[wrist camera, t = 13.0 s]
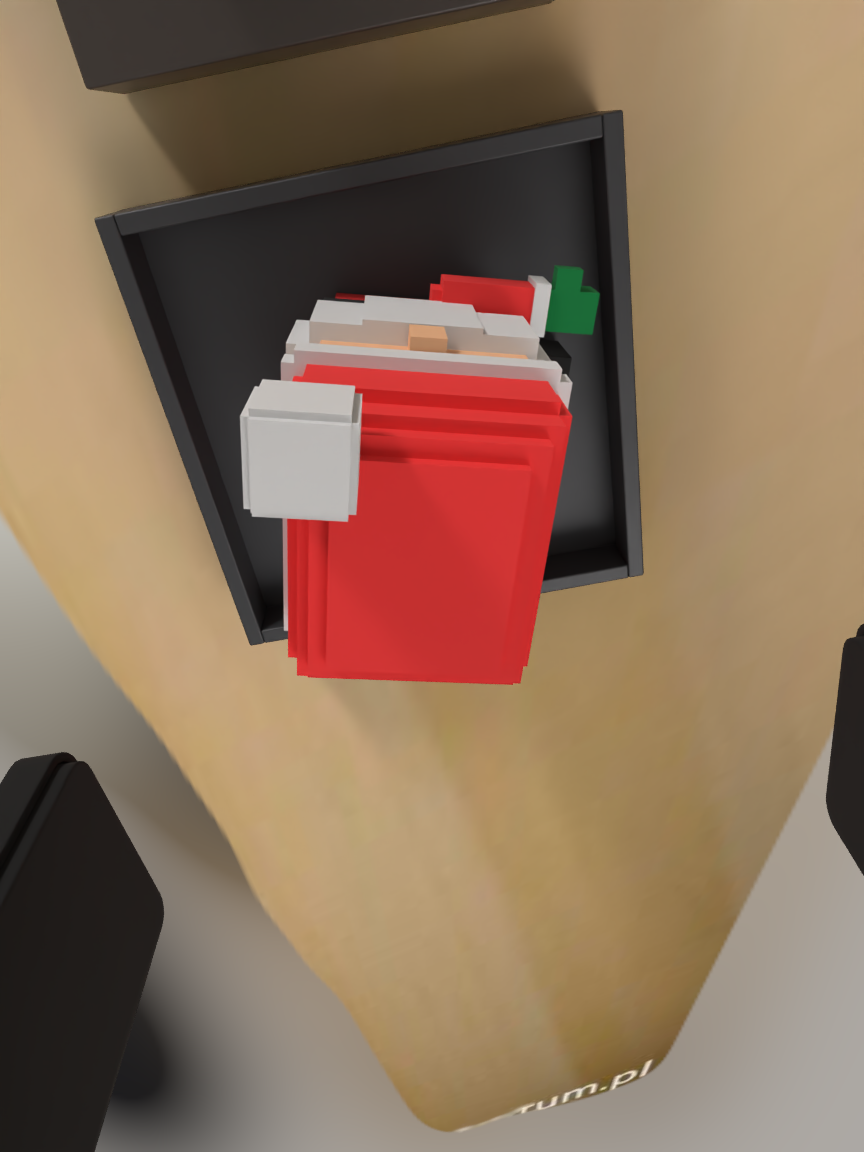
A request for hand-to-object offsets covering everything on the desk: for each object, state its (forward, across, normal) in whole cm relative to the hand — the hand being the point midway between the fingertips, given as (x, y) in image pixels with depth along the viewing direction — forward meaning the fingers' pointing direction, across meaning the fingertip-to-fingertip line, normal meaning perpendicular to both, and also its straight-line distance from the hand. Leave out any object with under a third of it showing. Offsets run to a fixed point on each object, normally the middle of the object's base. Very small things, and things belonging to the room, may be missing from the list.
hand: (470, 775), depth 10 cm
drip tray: (+16, +1, 0) cm, 16 cm away
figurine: (+16, 0, 0) cm, 16 cm away
